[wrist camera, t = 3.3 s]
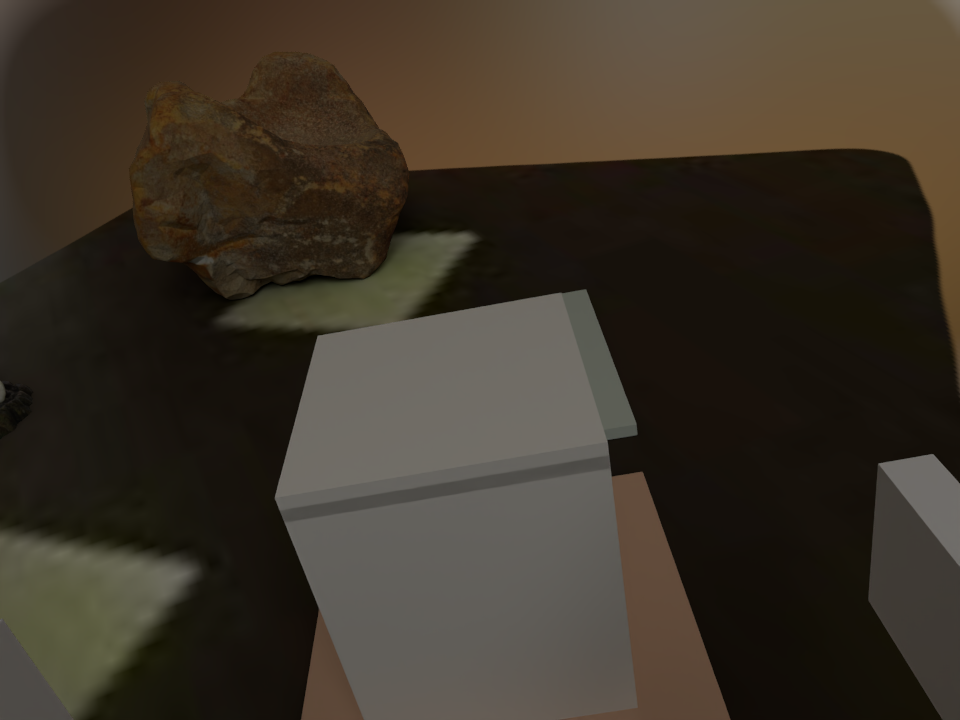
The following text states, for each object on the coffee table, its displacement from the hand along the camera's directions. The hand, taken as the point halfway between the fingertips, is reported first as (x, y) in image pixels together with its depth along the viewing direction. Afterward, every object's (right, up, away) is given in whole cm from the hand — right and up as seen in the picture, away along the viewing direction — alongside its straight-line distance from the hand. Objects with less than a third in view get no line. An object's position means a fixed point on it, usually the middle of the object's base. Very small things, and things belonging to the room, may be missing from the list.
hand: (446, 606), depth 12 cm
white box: (+1, -5, +15) cm, 16 cm away
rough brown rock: (-11, +11, +49) cm, 51 cm away
